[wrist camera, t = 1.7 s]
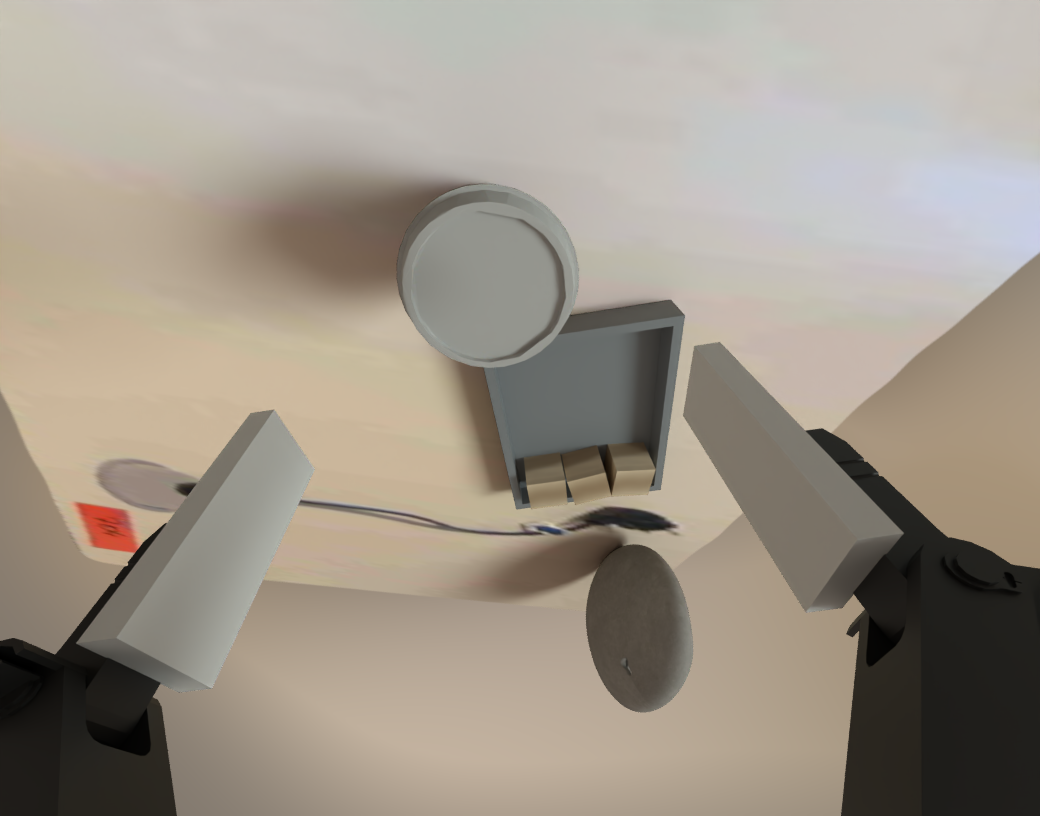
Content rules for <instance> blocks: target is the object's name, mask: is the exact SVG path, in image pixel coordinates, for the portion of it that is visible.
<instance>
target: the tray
mask: <svg viewBox="0 0 1040 816" xmlns="http://www.w3.org/2000/svg"><path fill="white" fill-rule="evenodd" d="M684 318H685V315H684V314H683V313H682V312H681V310H680V309H679V308H678V307H677V306H676V305H675V304H674V303H673V302H672V300H668V301H662V302H655V303H649V304H642V305H636V306H629V307H623V308H616V309H610V310H603V311H597V312H590V313H584V314H577V315H571V316H569V318H568V319H567V321H566V322H565V324H564V326H563V327H562V329H561V331H560V332H559V333H558V335H557V336H556V337H555V338H554V340H553V341H552V342H551V343H550V344H549V345H548V346H546V347H545V348H544V349H543V350H542V351H541V352H539V353H537V354H536V355H534V356H532V357H531V358H529V359H527V360H525V361H522V362H519V363H516V364H512V365H508V366H505V367H494V368H486V367H484V371H485V376H486V380H487V384H488V389H489V393H490V397H491V402H492V406H493V410H494V415H495V419H496V423H497V428H498V432H499V436H500V441H501V445H502V449H503V454H504V458H505V462H506V467H507V471H508V475H509V480H510V484H511V488H512V493H513V497H514V501H515V506H516V509H523V508H531V506H530V500H529V495H528V490H527V484H526V474H525V464H524V457H531V456H538V455H545V454H552V453H559V452H560V456H561V461H562V466H563V471H564V476H565V482H566V493H567V502H574V500H573V497H572V494H571V491H570V489H569V486H568V483H567V479H566V474H565V469H564V464H563V460H562V455H561V454H565V453H569V452H573V451H577V450H580V449H584V448H588V447H592V446H595V445H597V447H598V451H599V454H600V457H601V460H602V463H603V466H604V461H605V456H606V450H607V445H608V444H619V443H641V442H644V444H645V447H646V449H647V451H648V453H649V455H650V458H651V460H652V462H653V464H654V467H655V469H656V470H655V474H654V477H653V480H652V483H651V486H650V490H649V491H655V490H661V483H662V476H663V469H664V462H665V455H666V447H667V440H668V433H669V426H670V419H671V412H672V404H673V397H674V390H675V383H676V376H677V369H678V361H679V354H680V347H681V340H682V333H683V326H684ZM610 497H611V496H610Z"/></svg>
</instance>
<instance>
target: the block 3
mask: <svg viewBox="0 0 1040 816" xmlns="http://www.w3.org/2000/svg"><path fill="white" fill-rule="evenodd" d="M603 467H604V470H605V473H606V477H607V481H608V485H609V488H610V492H611V497H614V496H634V495H648V493H649V490H650V486H651V483H652V480H653V477H654V474H655V470H656V469H655V467H654V464H653V462H652V460H651V458H650V455H649V453H648V451H647V449H646V447H645V444H644V442H641V443H619V444H608V445H607V450H606V456H605V461H604V466H603Z"/></svg>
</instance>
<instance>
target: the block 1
mask: <svg viewBox="0 0 1040 816" xmlns="http://www.w3.org/2000/svg"><path fill="white" fill-rule="evenodd" d="M524 464H525V474H526V484H527V490H528V495H529V500H530V506H531V509H537V508H544V507H551V506H559V505H566V504H568V503H567V493H566V482H565V476H564V471H563V466H562V461H561V456H560V452H559V453H552V454H545V455H538V456H531V457H524Z"/></svg>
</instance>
